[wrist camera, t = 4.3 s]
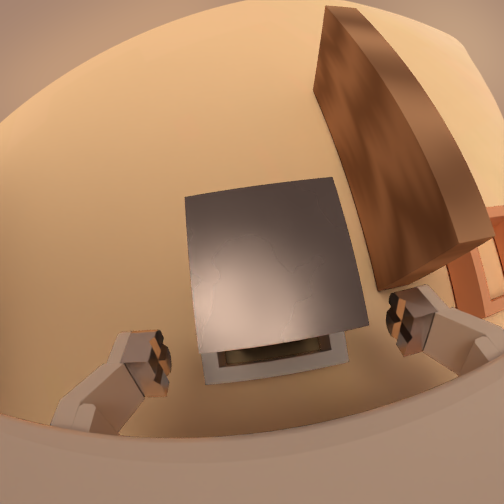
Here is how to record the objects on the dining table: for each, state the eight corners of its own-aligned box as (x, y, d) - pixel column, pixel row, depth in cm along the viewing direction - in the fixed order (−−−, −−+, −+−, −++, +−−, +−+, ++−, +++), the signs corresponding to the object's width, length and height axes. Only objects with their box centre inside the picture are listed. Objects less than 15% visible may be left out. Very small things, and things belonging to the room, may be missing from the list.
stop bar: (305, 339, 17) (369, 325, 6) (238, 349, 17) (199, 354, 6) (293, 274, 18) (332, 177, 8) (228, 284, 18) (184, 197, 8)
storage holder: (335, 359, 16) (349, 361, 14) (214, 378, 16) (205, 385, 13) (313, 246, 19) (322, 228, 16) (200, 263, 19) (189, 247, 16)
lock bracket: (515, 299, 17) (538, 291, 14) (460, 323, 17) (485, 317, 14) (493, 219, 19) (513, 204, 16) (436, 227, 19) (456, 210, 16)
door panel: (427, 279, 18) (514, 231, 9) (378, 291, 18) (459, 243, 9) (353, 89, 23) (374, 11, 15) (313, 89, 23) (325, 5, 15)
